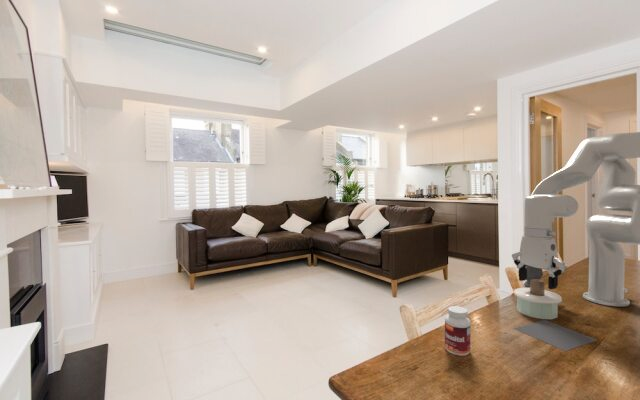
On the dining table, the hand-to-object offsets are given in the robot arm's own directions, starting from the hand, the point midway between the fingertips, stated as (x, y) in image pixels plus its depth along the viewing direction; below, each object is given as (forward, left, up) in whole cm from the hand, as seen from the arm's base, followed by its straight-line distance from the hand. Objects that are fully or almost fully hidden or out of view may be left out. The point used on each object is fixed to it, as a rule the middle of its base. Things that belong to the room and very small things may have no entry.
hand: (537, 284), depth 104 cm
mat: (+11, +12, -10) cm, 19 cm away
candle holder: (-13, -10, -10) cm, 19 cm away
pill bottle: (+42, +7, -10) cm, 44 cm away
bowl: (0, 0, -10) cm, 10 cm away
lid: (0, 0, -4) cm, 4 cm away
